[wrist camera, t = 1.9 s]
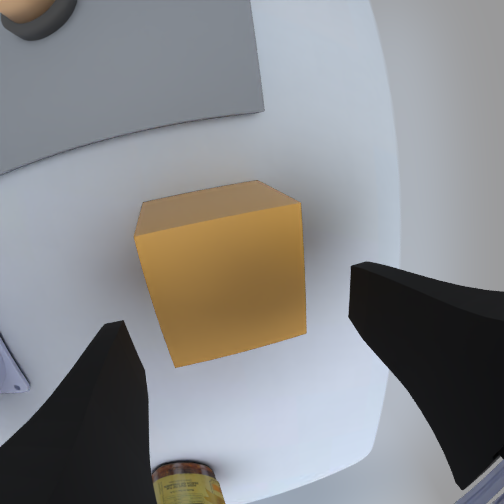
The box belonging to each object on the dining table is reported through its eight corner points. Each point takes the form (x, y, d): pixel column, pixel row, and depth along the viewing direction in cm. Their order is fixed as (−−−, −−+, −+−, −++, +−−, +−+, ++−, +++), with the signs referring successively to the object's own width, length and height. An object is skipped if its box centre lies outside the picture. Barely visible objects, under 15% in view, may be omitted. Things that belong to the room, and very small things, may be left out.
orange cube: (168, 303, 16) (174, 367, 11) (142, 202, 13) (133, 236, 9) (268, 280, 17) (306, 333, 12) (257, 180, 15) (300, 202, 10)
